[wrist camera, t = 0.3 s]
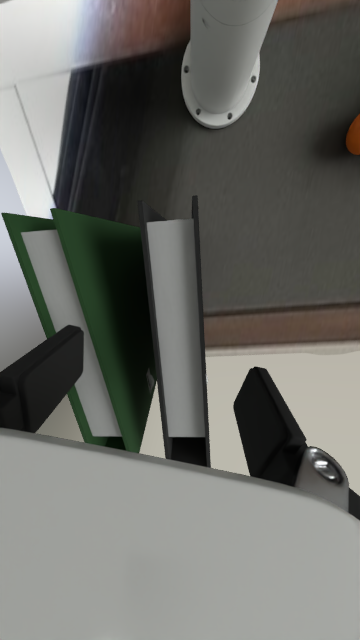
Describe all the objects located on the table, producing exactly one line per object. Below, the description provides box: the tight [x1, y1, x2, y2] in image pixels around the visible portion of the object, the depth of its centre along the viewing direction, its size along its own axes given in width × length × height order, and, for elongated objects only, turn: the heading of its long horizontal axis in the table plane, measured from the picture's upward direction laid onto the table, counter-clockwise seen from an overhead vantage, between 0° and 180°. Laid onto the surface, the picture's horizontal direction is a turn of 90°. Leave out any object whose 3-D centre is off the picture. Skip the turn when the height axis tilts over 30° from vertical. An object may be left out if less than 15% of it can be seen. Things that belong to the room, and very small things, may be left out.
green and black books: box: [2, 195, 211, 468], centre depth 32 cm, size 27×15×32 cm, turn 4°
